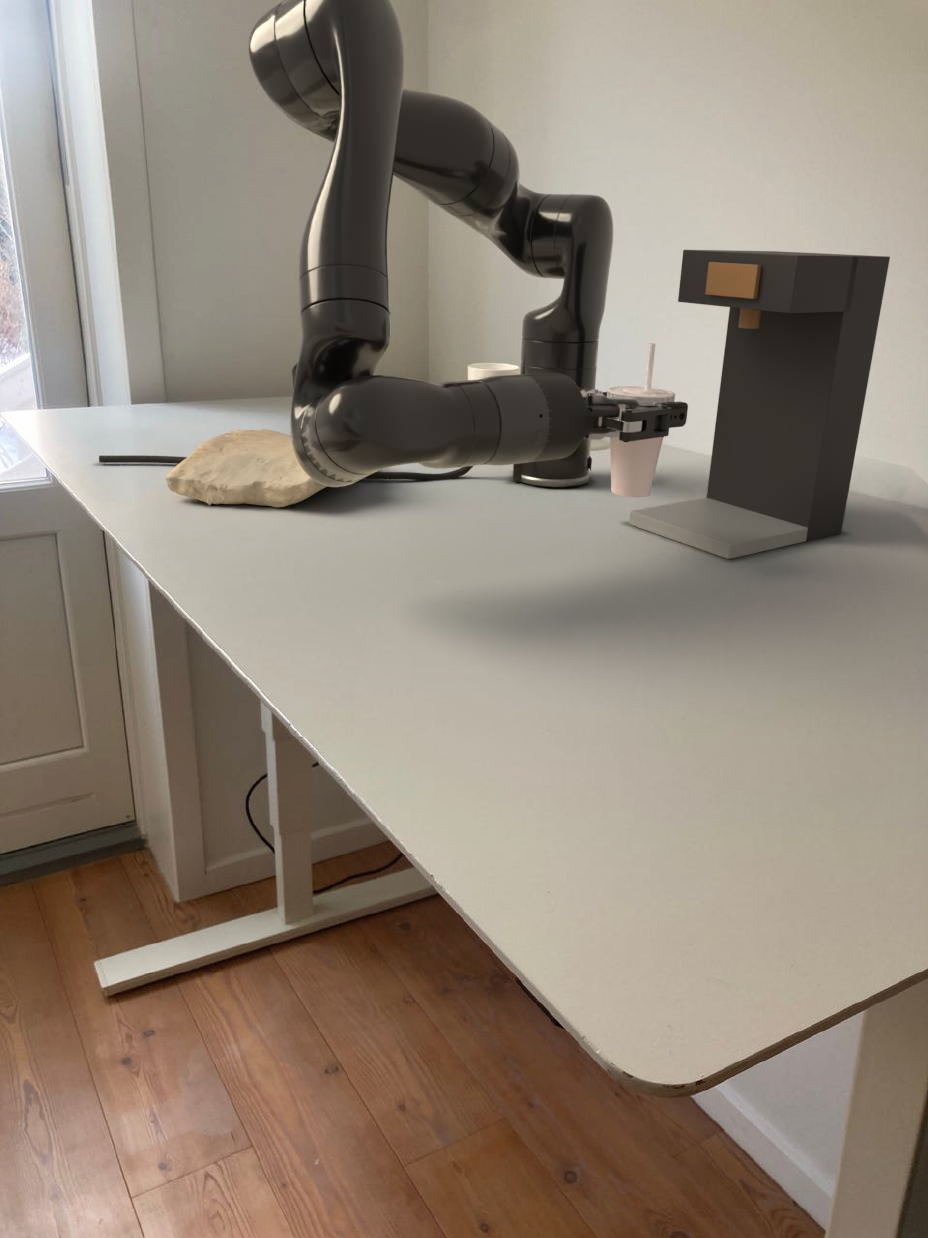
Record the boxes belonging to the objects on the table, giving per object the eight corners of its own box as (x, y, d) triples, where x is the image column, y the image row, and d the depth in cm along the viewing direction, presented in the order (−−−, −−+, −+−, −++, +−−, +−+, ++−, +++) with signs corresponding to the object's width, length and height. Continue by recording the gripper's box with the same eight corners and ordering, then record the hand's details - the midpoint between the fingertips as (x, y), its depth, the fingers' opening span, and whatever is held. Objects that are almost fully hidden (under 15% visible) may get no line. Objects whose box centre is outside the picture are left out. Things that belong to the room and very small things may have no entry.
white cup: (500, 439, 148) (503, 371, 144) (455, 433, 152) (457, 366, 148) (525, 431, 154) (529, 366, 151) (482, 425, 158) (484, 361, 154)
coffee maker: (728, 559, 97) (769, 254, 87) (628, 524, 107) (654, 248, 97) (841, 533, 107) (890, 256, 96) (739, 503, 117) (773, 251, 107)
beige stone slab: (389, 474, 129) (244, 448, 132) (394, 417, 126) (246, 392, 129) (327, 531, 107) (156, 500, 110) (331, 464, 104) (154, 434, 107)
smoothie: (663, 503, 93) (681, 348, 87) (594, 496, 94) (608, 344, 89) (664, 487, 98) (681, 342, 93) (599, 481, 99) (613, 337, 94)
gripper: (577, 386, 79) (720, 377, 88) (472, 364, 89) (609, 358, 99) (569, 479, 81) (709, 461, 90) (469, 446, 92) (602, 433, 101)
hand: (656, 407), depth 94 cm, fingers closed on smoothie, 6 cm apart
